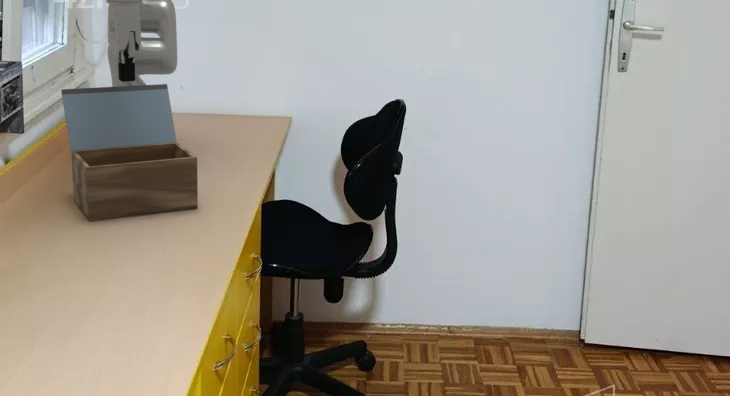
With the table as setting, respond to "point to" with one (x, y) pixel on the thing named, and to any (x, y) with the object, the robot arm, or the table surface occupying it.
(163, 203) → the wooden box
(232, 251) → the table surface
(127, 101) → the lid flap
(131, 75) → the robot arm
